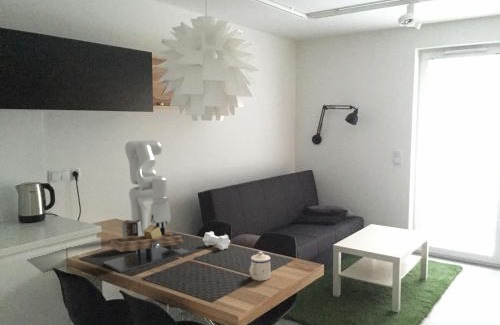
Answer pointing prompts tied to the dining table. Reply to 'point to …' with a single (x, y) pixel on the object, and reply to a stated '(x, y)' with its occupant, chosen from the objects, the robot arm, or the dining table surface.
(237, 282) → the dining table surface
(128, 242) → the long wooden tray
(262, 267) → the teacup with lid
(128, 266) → the stand
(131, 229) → the coffee box
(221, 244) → the dog bone
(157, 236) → the yellow wooden cube
